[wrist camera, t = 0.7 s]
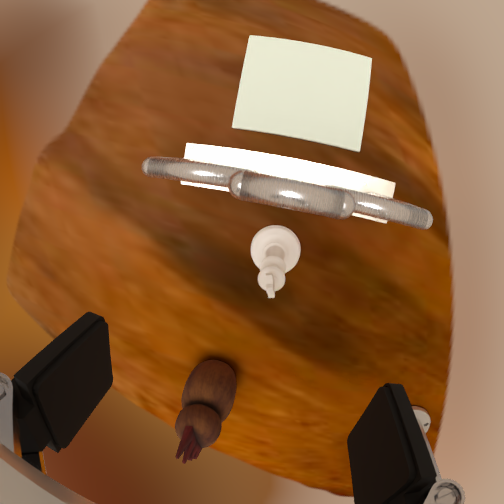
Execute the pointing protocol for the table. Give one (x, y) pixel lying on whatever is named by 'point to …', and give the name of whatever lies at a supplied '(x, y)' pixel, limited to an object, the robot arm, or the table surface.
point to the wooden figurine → (204, 407)
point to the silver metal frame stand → (288, 184)
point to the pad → (303, 92)
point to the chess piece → (274, 256)
